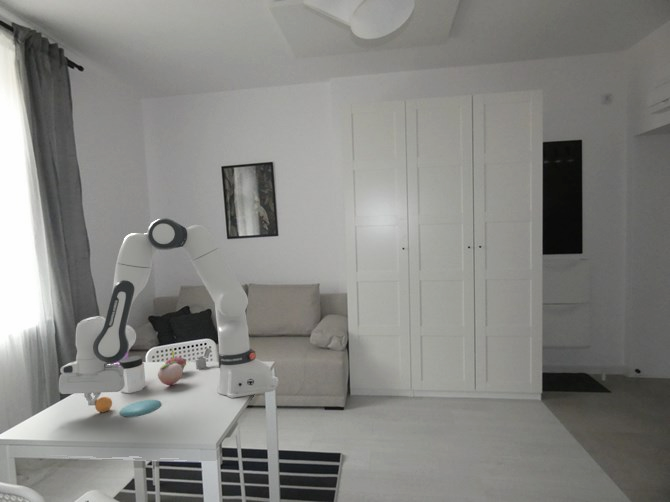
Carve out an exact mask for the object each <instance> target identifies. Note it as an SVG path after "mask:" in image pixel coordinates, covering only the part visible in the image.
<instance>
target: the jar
mask: <svg viewBox="0 0 670 502" xmlns="http://www.w3.org/2000/svg"><path fill="white" fill-rule="evenodd" d="M118 362H119V365H121V366H122V367H123V370H124V373H123V376H124V382H125V386H124V388H123V389H122V390H120V391H119V392H121V393H124V394H131V393H132V394H133V393H136V392H139V391H142V390H143V389H144V388H145V387H146V384H147V383H146V373H145V363H144V362H143V356H141V355H131V356H128V357H127V358H123V359H121V360H119V361H118Z"/></svg>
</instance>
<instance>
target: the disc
mask: <svg viewBox="0 0 670 502" xmlns="http://www.w3.org/2000/svg"><path fill="white" fill-rule="evenodd" d="M161 406H162V402H161V401H160V400H158V399H146V400H145V399H144V400H140V401H135V402H132V403H129V404H128V405H125V406H124V407H122V408H121V409H120V410H119V411H118V412H119V413H118V414H119V415H120V416H122V417H125V418H131V417H139V416H144V415H147V414H149V413H151V412H155V411H156V410H158V409H159V408H160V407H161Z"/></svg>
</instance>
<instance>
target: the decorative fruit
mask: <svg viewBox="0 0 670 502" xmlns="http://www.w3.org/2000/svg"><path fill="white" fill-rule="evenodd" d="M177 363H178V364H177ZM183 374H184V369H182V367H181V366H180V365H179V362H175V361H174V362H171V363H170V361H169V364H163V365H161V367H160V368H159V371H158V372H157V378H158V379H159V381H160V382H161V383H162V384H163V385H167V386H170V387H172V386H173V385H174V384H175V383H177V382H179V381H180V380H181V378H182V376H183Z"/></svg>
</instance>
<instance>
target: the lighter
mask: <svg viewBox="0 0 670 502" xmlns="http://www.w3.org/2000/svg"><path fill="white" fill-rule="evenodd" d="M211 349H212V348H210V347H209V348H208V347H206V348H205V351H204V354H203V355H199V356H197V358H196V359H195V368H196V370H198V369H199V370H202V369H204V367H205V368H207V359H208V358H209V356H210V353H211V351H212V350H211ZM201 368H202V369H201Z"/></svg>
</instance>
